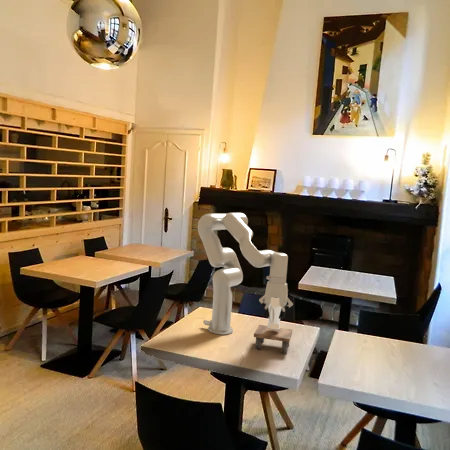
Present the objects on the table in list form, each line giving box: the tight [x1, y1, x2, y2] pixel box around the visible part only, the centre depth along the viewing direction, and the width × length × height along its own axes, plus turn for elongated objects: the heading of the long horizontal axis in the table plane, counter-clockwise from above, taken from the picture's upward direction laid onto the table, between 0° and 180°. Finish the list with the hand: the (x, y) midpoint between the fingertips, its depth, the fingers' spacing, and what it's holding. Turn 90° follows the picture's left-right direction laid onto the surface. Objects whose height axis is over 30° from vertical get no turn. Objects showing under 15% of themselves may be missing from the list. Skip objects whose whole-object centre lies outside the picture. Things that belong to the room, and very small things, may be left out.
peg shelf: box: [253, 324, 293, 355], centre depth 203 cm, size 16×14×8 cm
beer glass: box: [266, 297, 282, 330], centre depth 202 cm, size 7×7×15 cm
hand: (274, 317), depth 202 cm, fingers closed on beer glass, 6 cm apart
